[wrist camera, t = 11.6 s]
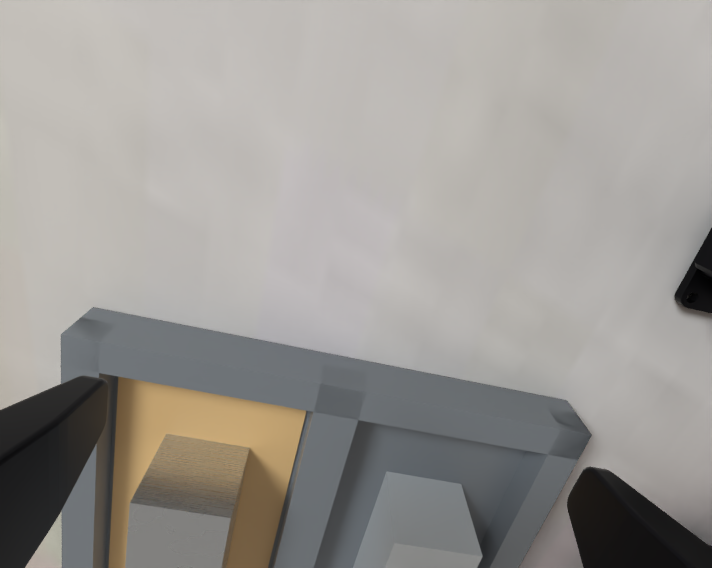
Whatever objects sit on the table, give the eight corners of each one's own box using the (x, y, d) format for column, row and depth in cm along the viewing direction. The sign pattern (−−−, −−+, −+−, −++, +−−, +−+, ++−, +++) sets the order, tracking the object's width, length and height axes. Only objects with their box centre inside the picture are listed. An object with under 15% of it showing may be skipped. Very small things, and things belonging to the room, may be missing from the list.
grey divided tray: (566, 400, 23) (622, 478, 18) (439, 651, 31) (456, 749, 26) (92, 307, 20) (19, 369, 16) (85, 606, 28) (34, 707, 24)
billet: (249, 447, 22) (230, 518, 19) (223, 582, 26) (203, 663, 22) (166, 433, 22) (129, 502, 18) (151, 572, 25) (118, 653, 22)
